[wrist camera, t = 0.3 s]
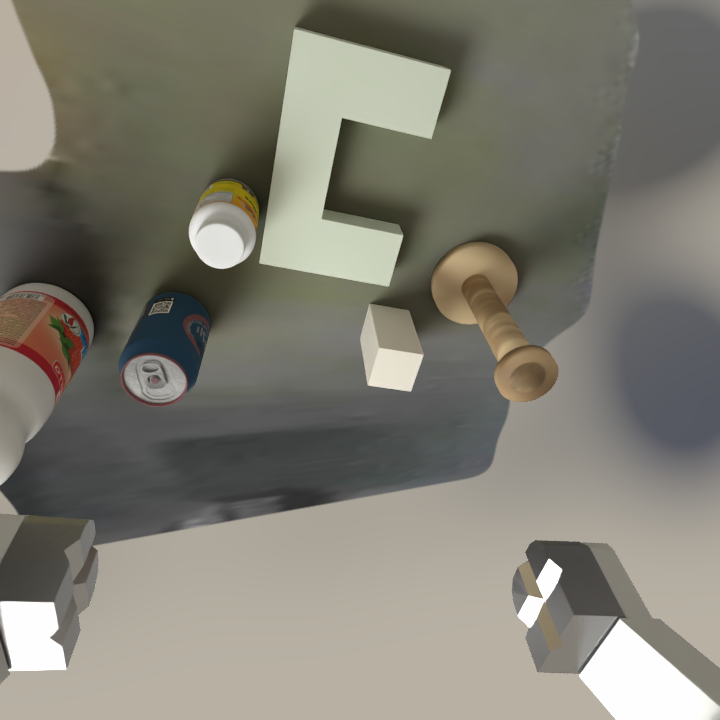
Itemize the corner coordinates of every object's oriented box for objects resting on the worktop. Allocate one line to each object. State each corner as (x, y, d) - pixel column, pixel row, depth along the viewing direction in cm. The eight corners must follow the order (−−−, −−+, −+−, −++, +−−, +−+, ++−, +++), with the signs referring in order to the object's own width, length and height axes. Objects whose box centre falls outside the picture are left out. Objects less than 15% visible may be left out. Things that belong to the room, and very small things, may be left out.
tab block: (369, 303, 61) (379, 347, 53) (409, 310, 62) (423, 354, 54) (360, 338, 63) (367, 385, 56) (398, 344, 64) (410, 391, 57)
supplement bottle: (263, 231, 55) (258, 276, 47) (206, 235, 55) (190, 280, 46) (256, 174, 52) (249, 211, 44) (195, 177, 52) (177, 215, 43)
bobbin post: (445, 233, 57) (496, 321, 42) (526, 250, 59) (602, 339, 44) (420, 310, 62) (458, 413, 47) (495, 323, 64) (554, 426, 49)
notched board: (294, 26, 46) (294, 28, 43) (443, 66, 48) (451, 70, 46) (261, 251, 56) (259, 263, 54) (385, 273, 59) (388, 286, 56)
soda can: (218, 339, 62) (202, 407, 52) (155, 346, 62) (127, 416, 52) (203, 282, 58) (183, 344, 48) (136, 290, 58) (101, 353, 48)
